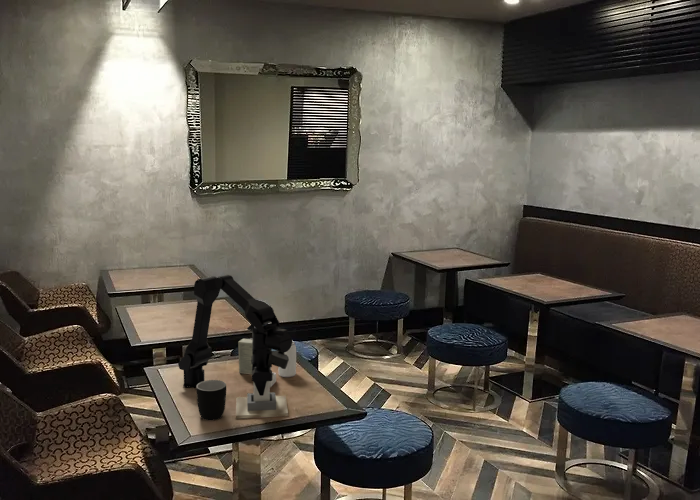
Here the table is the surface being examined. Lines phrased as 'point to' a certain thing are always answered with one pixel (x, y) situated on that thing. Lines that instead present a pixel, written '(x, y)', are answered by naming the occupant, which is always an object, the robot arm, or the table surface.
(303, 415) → the table surface
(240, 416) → the board
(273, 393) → the back box
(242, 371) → the skincare box
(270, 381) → the white angled block
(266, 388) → the grey block
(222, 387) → the mug
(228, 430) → the table surface
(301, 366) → the table surface
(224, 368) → the table surface
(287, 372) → the can
